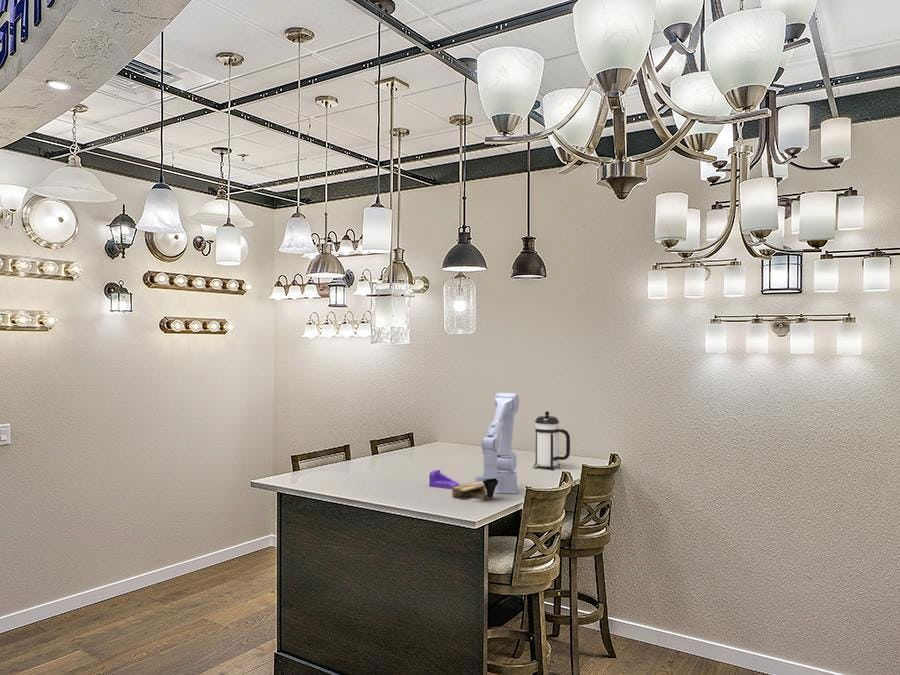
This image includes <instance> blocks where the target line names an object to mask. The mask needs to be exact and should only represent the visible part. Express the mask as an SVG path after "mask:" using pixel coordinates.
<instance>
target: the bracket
mask: <svg viewBox="0 0 900 675" xmlns="http://www.w3.org/2000/svg"><path fill="white" fill-rule="evenodd" d="M428 484H429V487H430V488H437V489H439V488H440V489H446V490H452V487H455V486H460V483H459V482H458V481H455V479H452V478H450V477H448V476H447V475H446V474H443V473H442V472H441V469H435V470H432V471H430V472H429V483H428Z"/></svg>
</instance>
